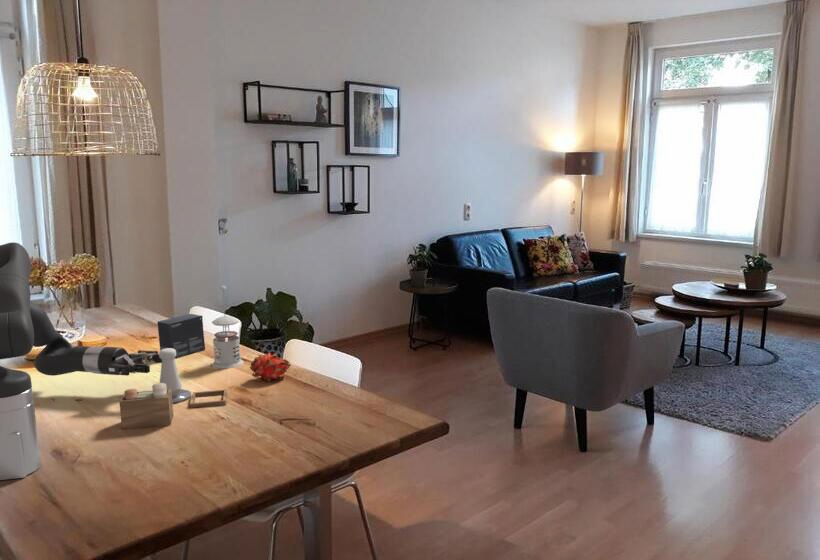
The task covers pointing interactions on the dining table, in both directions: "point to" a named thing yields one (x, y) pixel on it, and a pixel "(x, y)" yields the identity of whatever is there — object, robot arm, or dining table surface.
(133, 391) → the caddy
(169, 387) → the salt shaker
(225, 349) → the french press
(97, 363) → the robot arm
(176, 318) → the small box
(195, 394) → the holder
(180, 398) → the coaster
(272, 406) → the dining table surface
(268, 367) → the dragon fruit
